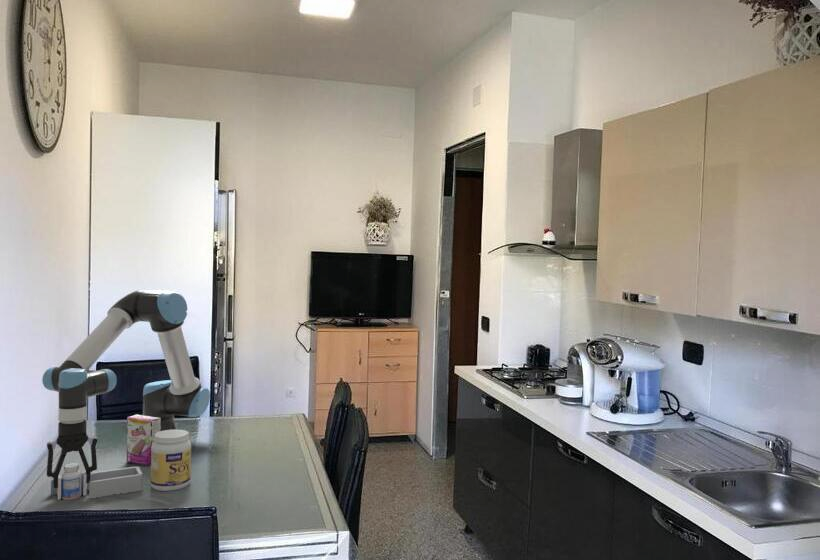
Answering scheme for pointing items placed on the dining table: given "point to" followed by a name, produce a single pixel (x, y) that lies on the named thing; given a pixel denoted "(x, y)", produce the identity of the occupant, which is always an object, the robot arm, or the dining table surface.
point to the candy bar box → (141, 438)
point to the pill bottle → (71, 481)
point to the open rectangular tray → (115, 482)
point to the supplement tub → (170, 460)
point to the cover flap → (55, 490)
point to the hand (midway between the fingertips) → (71, 495)
